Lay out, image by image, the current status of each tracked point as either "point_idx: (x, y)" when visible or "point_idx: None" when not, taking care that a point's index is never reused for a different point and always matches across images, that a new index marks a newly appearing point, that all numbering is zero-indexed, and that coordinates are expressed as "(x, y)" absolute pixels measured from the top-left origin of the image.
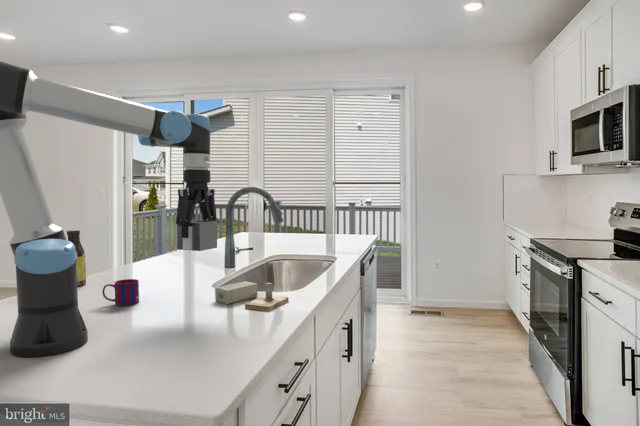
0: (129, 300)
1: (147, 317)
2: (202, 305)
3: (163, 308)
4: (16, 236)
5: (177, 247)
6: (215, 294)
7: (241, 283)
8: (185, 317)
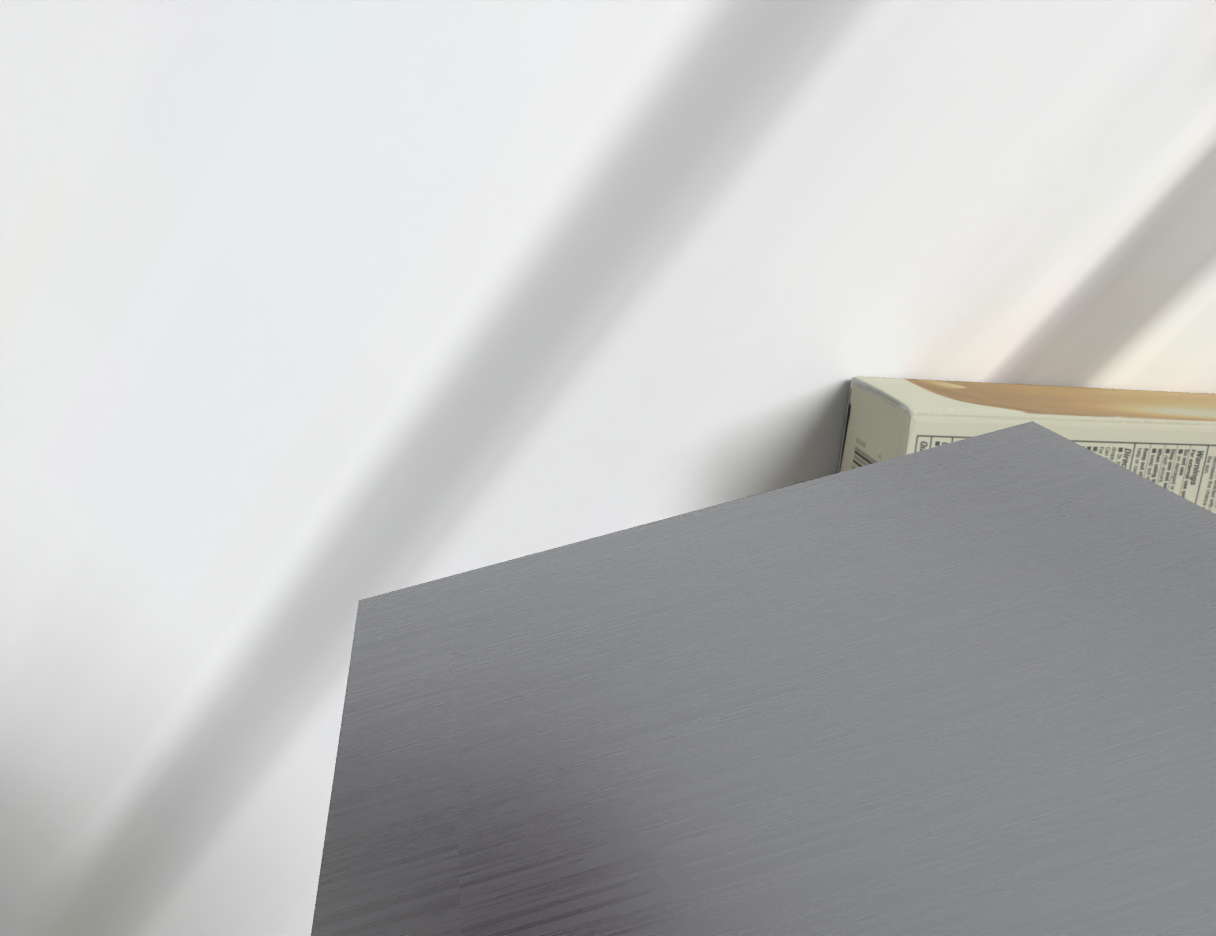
0: None
1: (8, 322)
2: (660, 399)
3: (320, 148)
4: None
5: (361, 627)
6: (875, 400)
7: (1212, 499)
8: (284, 616)
